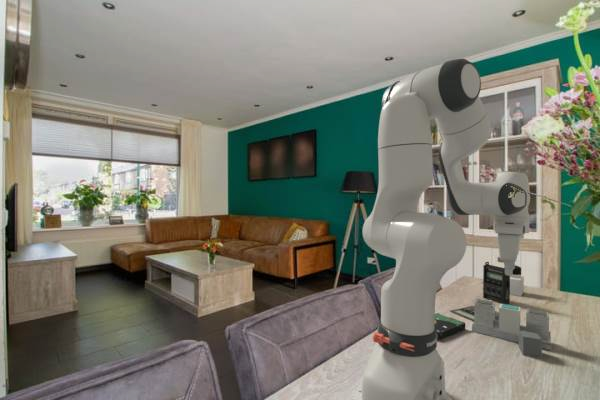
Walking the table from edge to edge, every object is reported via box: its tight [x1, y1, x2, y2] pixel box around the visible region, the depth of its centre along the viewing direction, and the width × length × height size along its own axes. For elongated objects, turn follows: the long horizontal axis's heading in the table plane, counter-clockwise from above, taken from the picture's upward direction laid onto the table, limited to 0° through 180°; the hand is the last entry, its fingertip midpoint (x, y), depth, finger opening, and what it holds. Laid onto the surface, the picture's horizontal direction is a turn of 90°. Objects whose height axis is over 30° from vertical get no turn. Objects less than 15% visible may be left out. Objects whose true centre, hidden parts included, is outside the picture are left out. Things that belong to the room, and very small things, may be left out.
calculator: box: [449, 305, 499, 323], centre depth 107 cm, size 12×1×15 cm
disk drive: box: [434, 312, 466, 342], centre depth 95 cm, size 10×3×15 cm
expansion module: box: [498, 303, 522, 335], centre depth 90 cm, size 4×5×7 cm
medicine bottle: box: [510, 264, 525, 297], centre depth 131 cm, size 7×7×12 cm
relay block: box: [518, 331, 543, 359], centre depth 81 cm, size 4×4×5 cm
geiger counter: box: [482, 261, 511, 305], centre depth 121 cm, size 10×4×15 cm, turn 21°
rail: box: [471, 298, 552, 351], centre depth 90 cm, size 6×19×9 cm, turn 51°
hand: (509, 272), depth 90 cm, fingers open, 8 cm apart
